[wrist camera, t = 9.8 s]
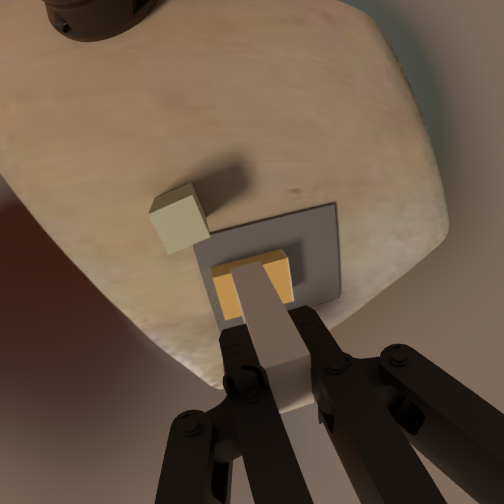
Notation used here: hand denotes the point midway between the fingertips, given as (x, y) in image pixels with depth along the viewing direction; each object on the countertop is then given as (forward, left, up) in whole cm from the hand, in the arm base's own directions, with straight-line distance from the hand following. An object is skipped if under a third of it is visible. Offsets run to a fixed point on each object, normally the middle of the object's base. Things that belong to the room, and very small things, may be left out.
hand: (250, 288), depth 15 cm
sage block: (+2, -4, -25) cm, 25 cm away
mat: (+14, +6, -24) cm, 29 cm away
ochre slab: (+14, +7, -22) cm, 27 cm away
